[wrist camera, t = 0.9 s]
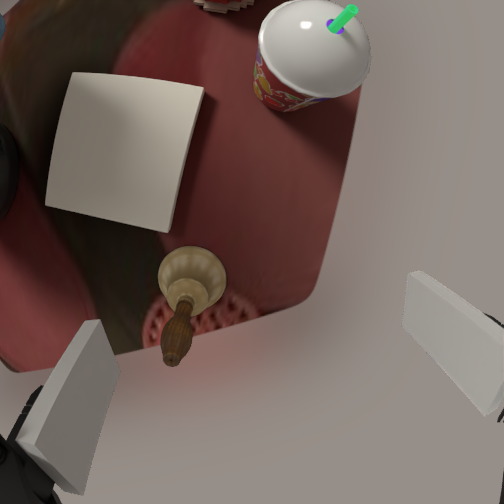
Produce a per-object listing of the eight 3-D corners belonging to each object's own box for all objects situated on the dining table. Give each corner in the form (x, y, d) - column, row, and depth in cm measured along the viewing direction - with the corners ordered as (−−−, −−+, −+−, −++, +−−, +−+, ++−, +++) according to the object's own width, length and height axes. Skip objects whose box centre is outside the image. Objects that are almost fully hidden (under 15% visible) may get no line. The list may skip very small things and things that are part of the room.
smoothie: (321, 118, 31) (430, 84, 12) (249, 123, 31) (287, 75, 12) (311, 53, 29) (397, -31, 10) (240, 55, 28) (263, -50, 9)
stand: (52, 202, 31) (44, 205, 29) (79, 75, 27) (72, 72, 25) (170, 228, 34) (167, 233, 32) (204, 91, 29) (203, 87, 28)
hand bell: (177, 318, 37) (157, 408, 22) (146, 262, 35) (100, 333, 19) (237, 294, 37) (248, 381, 22) (208, 234, 34) (199, 294, 19)
